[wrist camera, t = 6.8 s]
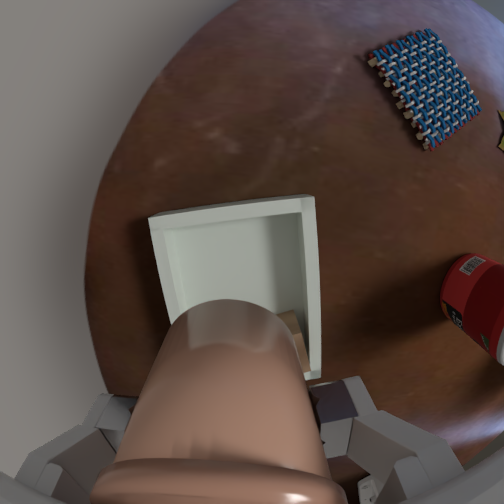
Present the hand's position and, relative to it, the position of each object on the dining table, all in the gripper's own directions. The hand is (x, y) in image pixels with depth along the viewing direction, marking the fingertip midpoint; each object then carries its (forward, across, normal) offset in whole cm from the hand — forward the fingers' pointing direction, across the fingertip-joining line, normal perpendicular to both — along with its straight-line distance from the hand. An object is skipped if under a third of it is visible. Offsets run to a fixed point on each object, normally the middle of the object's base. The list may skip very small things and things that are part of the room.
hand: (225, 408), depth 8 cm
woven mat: (+18, -20, -14) cm, 30 cm away
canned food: (+17, -24, +7) cm, 30 cm away
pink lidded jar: (+3, 0, 0) cm, 3 cm away
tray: (+17, 0, +4) cm, 17 cm away
